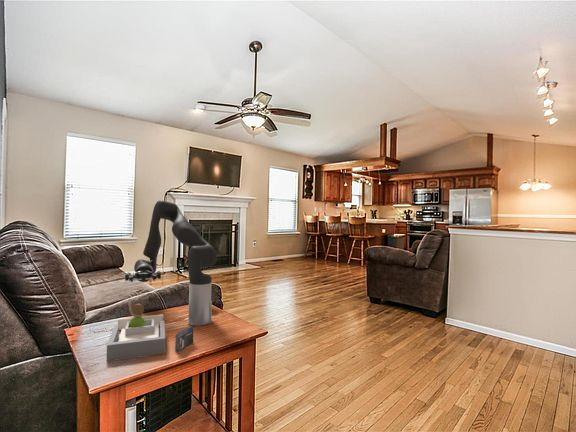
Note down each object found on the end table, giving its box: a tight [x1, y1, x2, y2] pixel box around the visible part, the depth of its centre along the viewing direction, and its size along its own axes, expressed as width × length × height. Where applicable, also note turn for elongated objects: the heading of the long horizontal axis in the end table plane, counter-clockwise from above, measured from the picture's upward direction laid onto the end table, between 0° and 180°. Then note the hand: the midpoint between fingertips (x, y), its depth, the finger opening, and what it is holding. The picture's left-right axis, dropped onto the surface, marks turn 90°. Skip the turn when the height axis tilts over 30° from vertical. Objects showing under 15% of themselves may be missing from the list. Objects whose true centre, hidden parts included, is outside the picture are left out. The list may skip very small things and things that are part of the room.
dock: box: [106, 320, 166, 362], centre depth 108 cm, size 17×18×5 cm
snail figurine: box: [127, 298, 145, 328], centre depth 119 cm, size 5×6×12 cm
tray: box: [117, 313, 164, 342], centre depth 118 cm, size 17×17×4 cm
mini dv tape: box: [174, 325, 195, 353], centre depth 108 cm, size 8×2×6 cm, turn 163°
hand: (142, 278), depth 130 cm, fingers open, 8 cm apart
